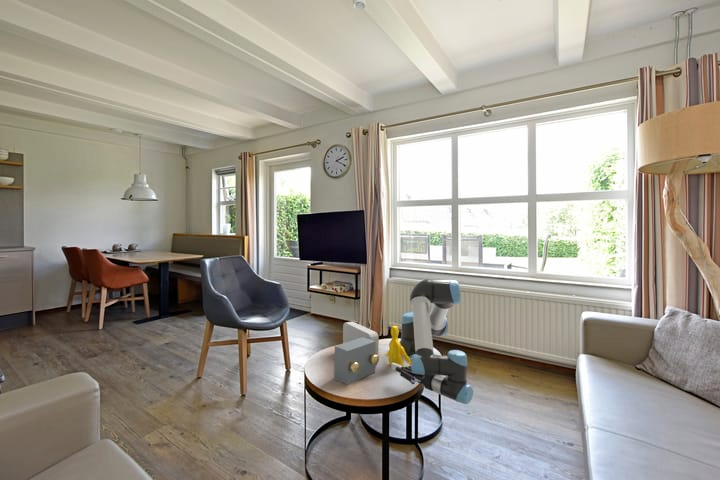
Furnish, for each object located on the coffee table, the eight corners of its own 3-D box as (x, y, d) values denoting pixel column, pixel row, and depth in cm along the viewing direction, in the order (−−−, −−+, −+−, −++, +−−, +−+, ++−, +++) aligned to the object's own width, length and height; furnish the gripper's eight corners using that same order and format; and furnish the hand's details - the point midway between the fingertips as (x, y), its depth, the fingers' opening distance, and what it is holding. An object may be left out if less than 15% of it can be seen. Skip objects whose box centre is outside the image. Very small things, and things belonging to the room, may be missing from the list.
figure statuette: (414, 369, 171) (415, 327, 170) (405, 373, 165) (406, 330, 165) (388, 359, 183) (388, 320, 183) (379, 363, 178) (379, 323, 177)
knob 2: (366, 358, 170) (366, 349, 169) (379, 363, 163) (379, 354, 163) (360, 360, 166) (360, 351, 166) (373, 365, 160) (373, 356, 160)
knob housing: (362, 366, 172) (362, 337, 172) (375, 372, 166) (375, 341, 166) (334, 378, 158) (334, 346, 158) (346, 384, 152) (347, 351, 151)
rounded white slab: (381, 365, 175) (382, 332, 174) (370, 368, 170) (370, 334, 170) (353, 349, 198) (353, 320, 198) (342, 351, 194) (343, 321, 194)
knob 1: (346, 365, 159) (346, 356, 159) (359, 371, 153) (360, 362, 153) (340, 368, 156) (340, 359, 156) (353, 374, 150) (353, 364, 150)
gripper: (427, 396, 133) (383, 377, 150) (443, 386, 143) (400, 369, 159) (427, 378, 133) (383, 361, 150) (443, 369, 142) (400, 354, 159)
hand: (392, 365), depth 154 cm, fingers closed
